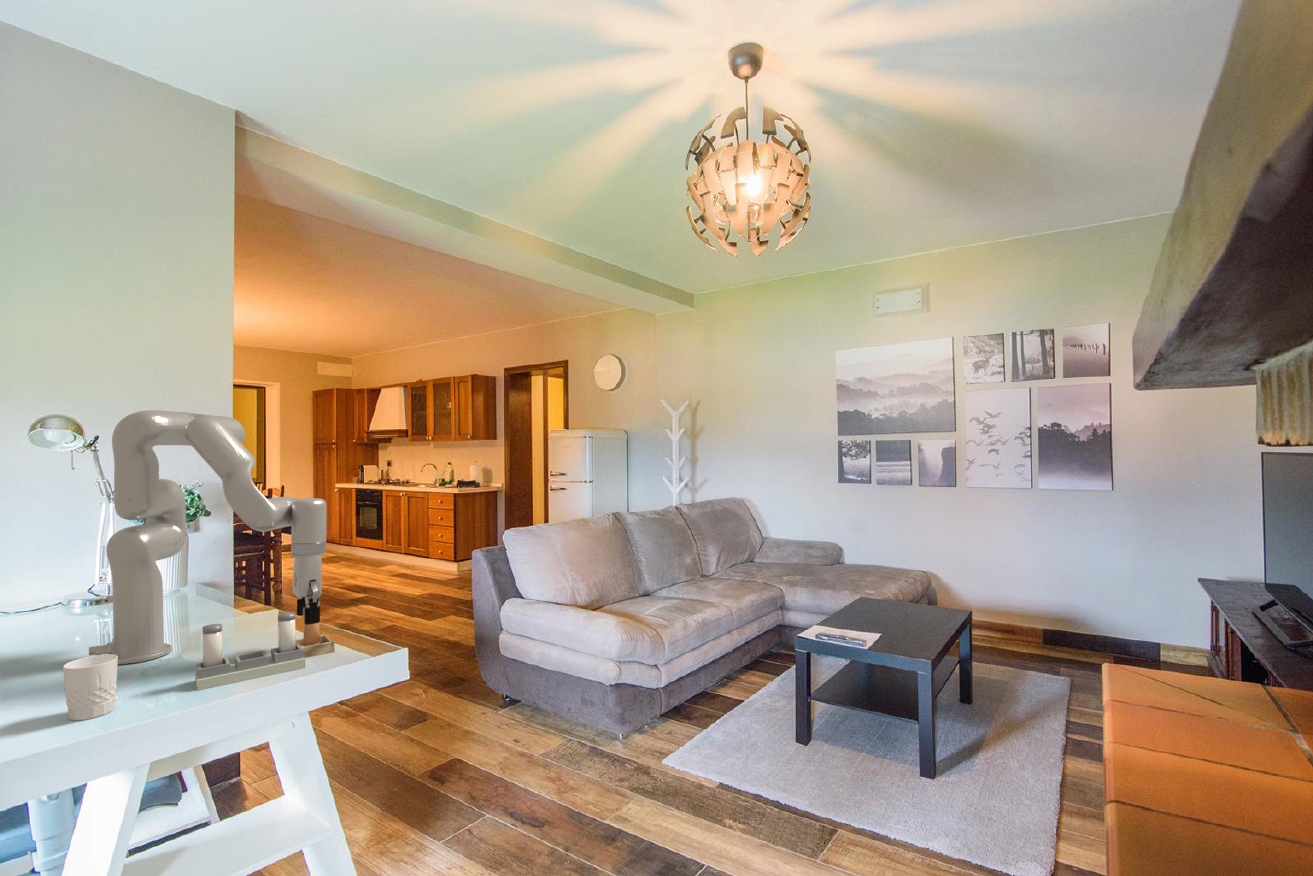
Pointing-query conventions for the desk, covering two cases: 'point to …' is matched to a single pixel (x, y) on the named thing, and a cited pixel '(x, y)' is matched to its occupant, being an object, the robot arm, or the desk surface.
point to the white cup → (90, 686)
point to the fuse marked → (310, 632)
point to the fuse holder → (249, 667)
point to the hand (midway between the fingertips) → (308, 619)
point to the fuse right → (286, 632)
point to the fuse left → (212, 645)
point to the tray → (318, 646)
